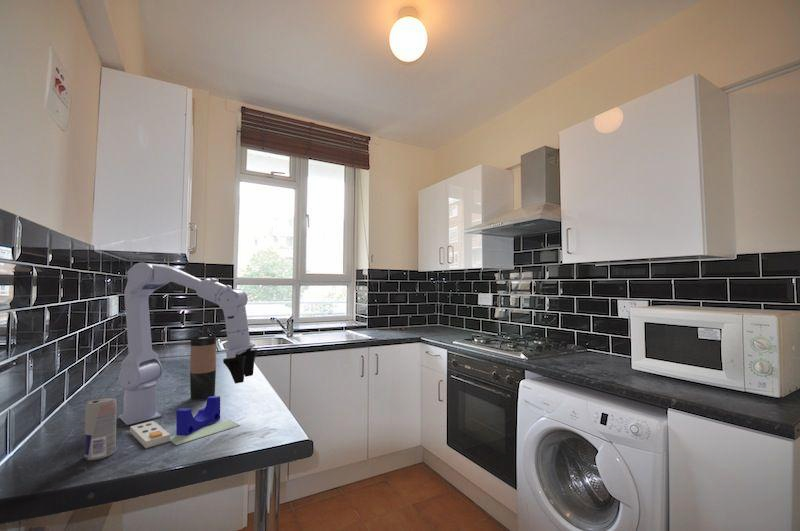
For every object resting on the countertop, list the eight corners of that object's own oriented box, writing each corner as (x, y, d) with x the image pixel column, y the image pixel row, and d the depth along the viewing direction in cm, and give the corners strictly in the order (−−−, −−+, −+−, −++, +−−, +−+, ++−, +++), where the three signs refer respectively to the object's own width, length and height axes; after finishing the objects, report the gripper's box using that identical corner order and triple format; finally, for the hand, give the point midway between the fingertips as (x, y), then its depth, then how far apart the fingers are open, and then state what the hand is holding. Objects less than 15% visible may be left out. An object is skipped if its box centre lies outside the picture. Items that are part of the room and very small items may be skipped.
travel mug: (220, 395, 122) (220, 336, 123) (197, 401, 116) (198, 339, 117) (207, 392, 126) (208, 334, 127) (185, 398, 120) (185, 337, 121)
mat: (167, 438, 88) (167, 437, 88) (230, 420, 99) (230, 419, 99) (176, 445, 84) (176, 444, 84) (239, 425, 95) (239, 424, 95)
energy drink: (96, 450, 82) (97, 396, 83) (121, 448, 83) (122, 395, 83) (77, 461, 77) (79, 404, 77) (104, 460, 77) (105, 403, 78)
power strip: (130, 432, 92) (130, 424, 92) (153, 426, 96) (153, 418, 96) (145, 448, 83) (145, 438, 83) (170, 440, 87) (170, 431, 87)
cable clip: (206, 417, 101) (206, 396, 102) (220, 418, 101) (220, 396, 101) (171, 434, 90) (171, 410, 90) (186, 435, 89) (186, 410, 89)
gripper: (242, 331, 95) (249, 383, 95) (260, 326, 110) (266, 370, 109) (215, 336, 95) (222, 388, 94) (236, 330, 109) (242, 375, 109)
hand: (244, 379), depth 102 cm, fingers open, 7 cm apart
